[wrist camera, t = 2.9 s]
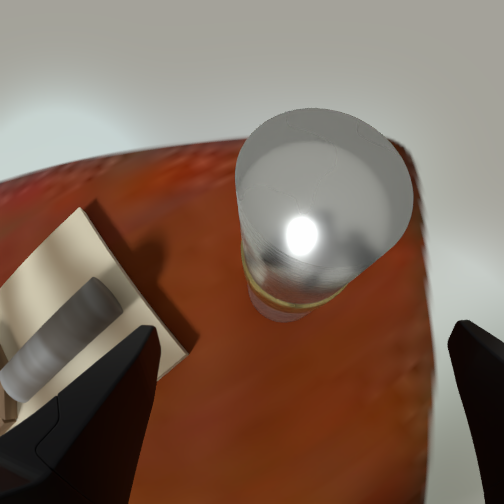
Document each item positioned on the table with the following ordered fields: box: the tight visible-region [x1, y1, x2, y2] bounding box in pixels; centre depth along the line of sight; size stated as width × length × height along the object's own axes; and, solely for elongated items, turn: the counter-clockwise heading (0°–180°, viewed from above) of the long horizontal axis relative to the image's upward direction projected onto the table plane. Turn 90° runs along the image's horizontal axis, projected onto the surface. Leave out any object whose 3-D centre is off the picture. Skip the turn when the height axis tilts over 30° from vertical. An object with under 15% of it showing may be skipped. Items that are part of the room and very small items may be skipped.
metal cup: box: [235, 108, 413, 322], centre depth 14 cm, size 5×5×13 cm
